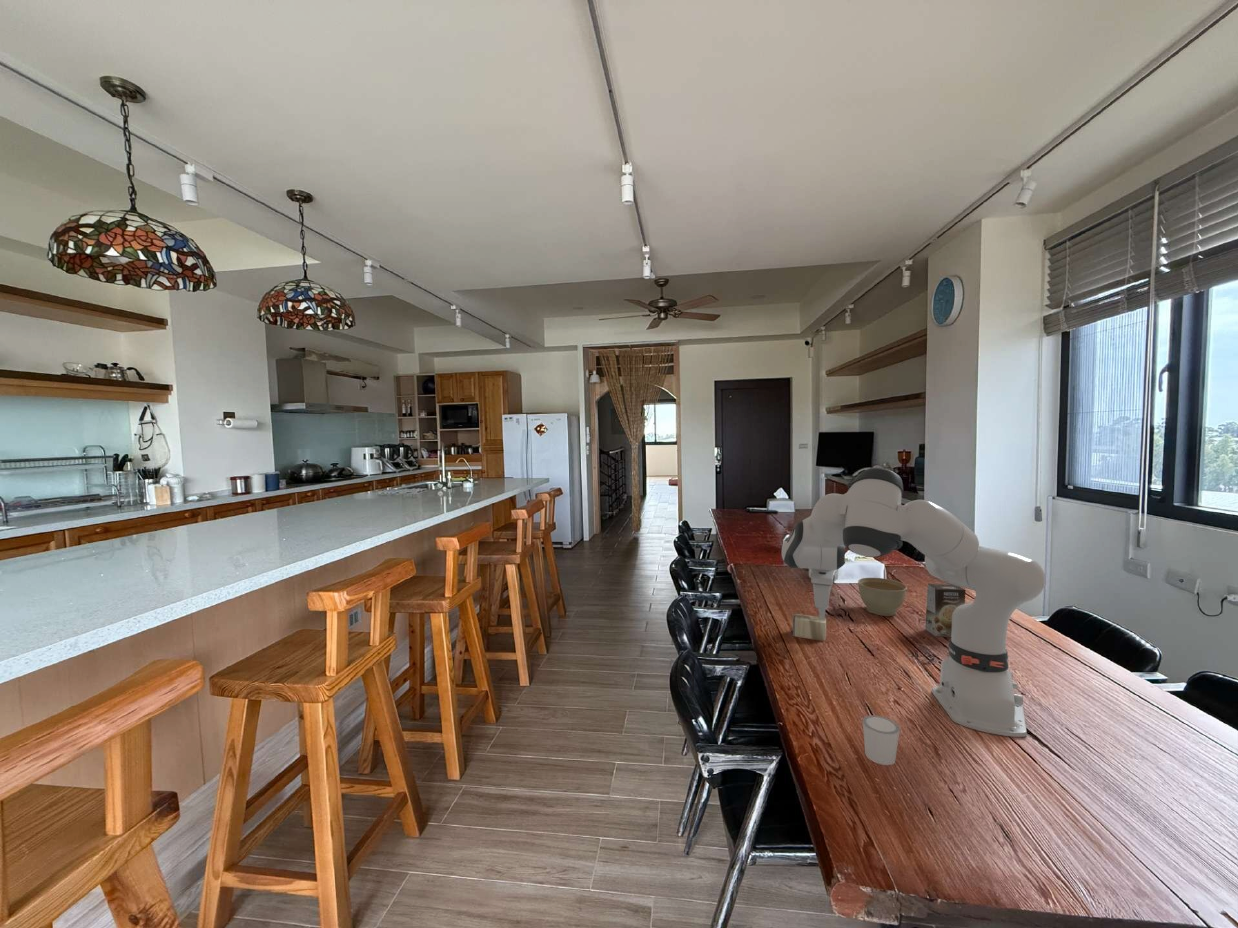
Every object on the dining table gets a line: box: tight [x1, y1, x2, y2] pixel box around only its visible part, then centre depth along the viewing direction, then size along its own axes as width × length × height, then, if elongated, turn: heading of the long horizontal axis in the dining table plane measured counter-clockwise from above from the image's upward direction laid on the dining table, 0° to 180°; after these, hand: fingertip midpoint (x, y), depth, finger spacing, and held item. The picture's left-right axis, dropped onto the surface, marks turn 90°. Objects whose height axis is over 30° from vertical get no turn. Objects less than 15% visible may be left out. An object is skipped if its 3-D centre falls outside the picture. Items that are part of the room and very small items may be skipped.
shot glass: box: [862, 714, 900, 766], centre depth 104 cm, size 7×7×7 cm
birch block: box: [792, 613, 827, 642], centre depth 165 cm, size 5×6×10 cm
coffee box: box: [924, 583, 967, 638], centre depth 166 cm, size 9×6×16 cm
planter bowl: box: [857, 577, 907, 617], centre depth 186 cm, size 16×16×11 cm
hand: (822, 613), depth 163 cm, fingers open, 8 cm apart
